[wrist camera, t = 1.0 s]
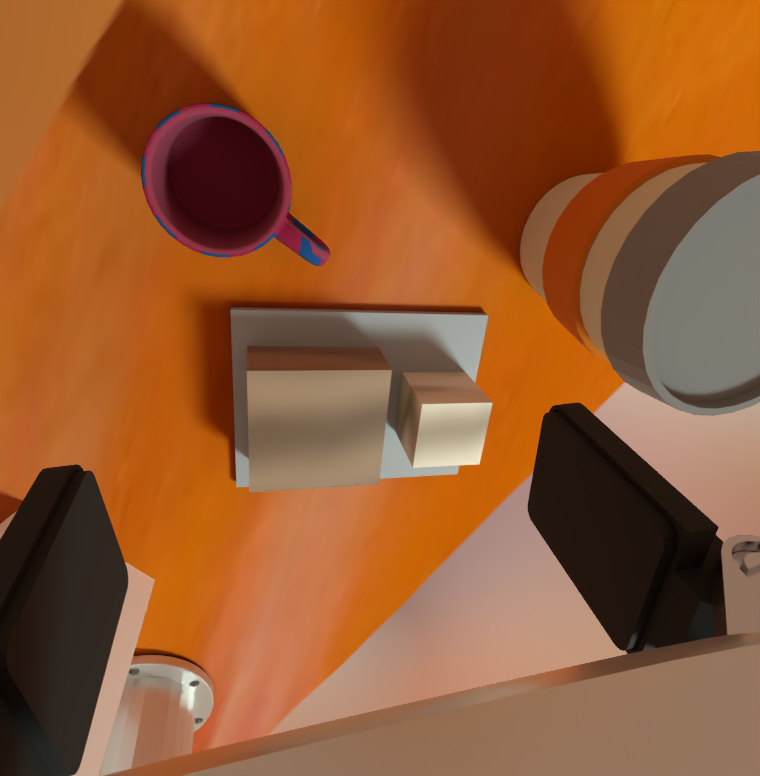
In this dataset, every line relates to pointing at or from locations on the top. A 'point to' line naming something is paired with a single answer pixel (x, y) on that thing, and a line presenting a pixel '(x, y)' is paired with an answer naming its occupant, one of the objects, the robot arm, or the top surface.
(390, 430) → the board
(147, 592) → the milk
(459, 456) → the birch cube
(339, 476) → the walnut slab
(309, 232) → the cup
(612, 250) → the reusable coffee cup
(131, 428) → the top surface
